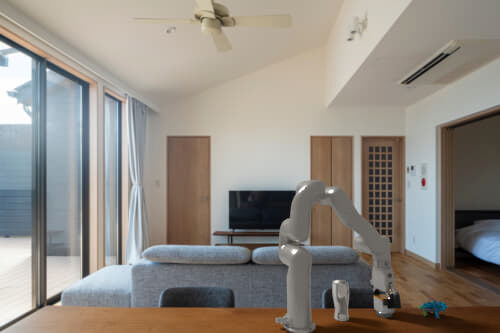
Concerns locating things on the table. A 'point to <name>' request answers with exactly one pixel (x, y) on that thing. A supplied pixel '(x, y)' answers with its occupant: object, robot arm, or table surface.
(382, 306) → the wooden tan cube
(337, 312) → the beer glass
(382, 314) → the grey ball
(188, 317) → the table surface
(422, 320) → the table surface
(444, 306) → the blue lumpy figure
